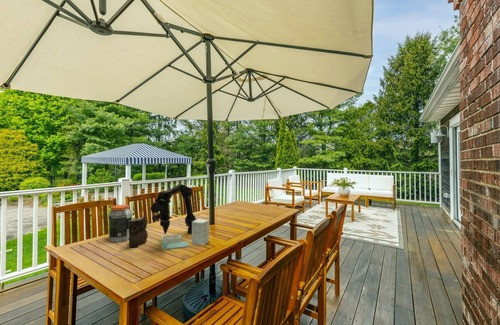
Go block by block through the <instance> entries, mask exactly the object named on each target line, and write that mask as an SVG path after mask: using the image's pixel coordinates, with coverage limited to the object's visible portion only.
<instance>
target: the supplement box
mask: <svg viewBox="0 0 500 325" xmlns="http://www.w3.org/2000/svg"><path fill="white" fill-rule="evenodd" d="M209 231H210V220H209V219H203V218H198V219H197V218H196V220H195V221H193V222H192V234H191V245H194V246H195V245H197V246H204V245H206V244H208V243H209V242H210V240H209V239H210V235H209V234H210V232H209Z"/></svg>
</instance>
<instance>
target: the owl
mask: <svg viewBox="0 0 500 325" xmlns="http://www.w3.org/2000/svg"><path fill="white" fill-rule="evenodd" d="M147 226H148V223H147V220H146V216H142V217H138V218H135V219H132V221H129V239H128V245H129V248H130V249H131V248H133V249H137V248H139V246H142V245H145V244H146V242H147V239H148V236H149V233H148V230H147Z"/></svg>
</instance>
